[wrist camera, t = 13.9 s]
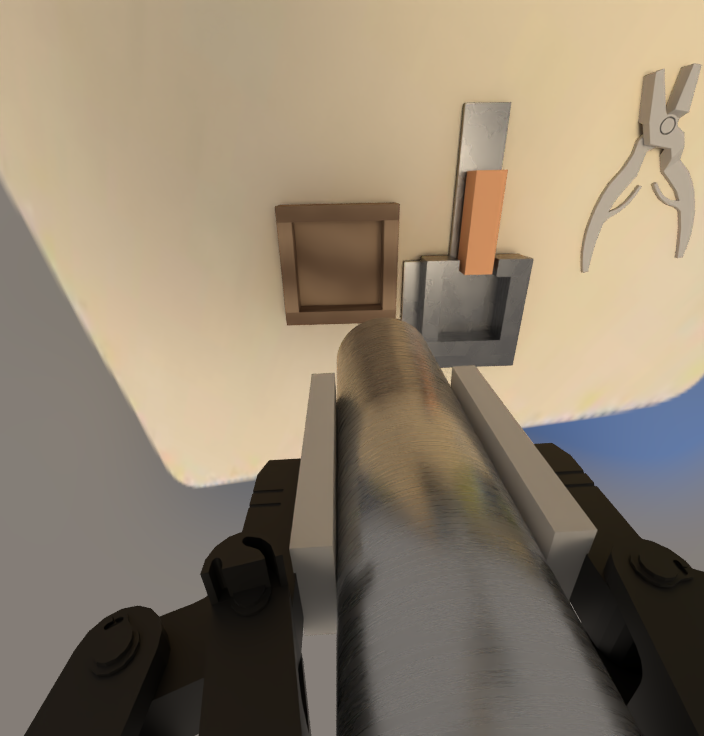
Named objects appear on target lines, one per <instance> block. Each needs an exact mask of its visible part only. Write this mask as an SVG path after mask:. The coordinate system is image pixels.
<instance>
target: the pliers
mask: <svg viewBox="0 0 704 736" xmlns="http://www.w3.org/2000/svg"><path fill="white" fill-rule="evenodd" d="M700 69H701V64H695V63H694V64H691V65H688V66H685V67H682V68H681V70H680V72H679V75H678V77H677V80H676V82H675V85H674V87H673V90H672V92H671V95H670V97H669V100H668V102H667V105H666V100H665V69H661V70H658V71H656V72H653V73H650V74H648V75H646V76H644V78H643V87H642V95H641V103H640V111H639V120H638V123H641V124H643V134H642V135H641V136H640V137H639V138H638V139H637V140H636V142H635V144H634V147H633V150H632V152H631V155H630V156H629V158H628V159H627V161H626V162H625V164H624V165H623V167H622V168H621V170H620V171H619V172H618V173H617V174H616V175H615V176H614V177H613V178H612V180H611V181H610V182H609V183H608V184H607V186H606V187H605V189H604V190H603V192H602V193H601V195H600V197H599V199H598V201H597V202H596V204H595V206H594V208H593V211H592V213H591V216H590V218H589V221H588V224H587V226H586V229H585V233H584V237H583V242H582V248H581V272H583V273H584V272H588V270H589V265H590V261H591V257H592V254H593V250H594V247H595V243H596V240H597V238H598V235H599V233H600V230H601V228H602V225H603V223H604V222H605V221H606V220H607V219H609V218H610V217H612V216H613V215H615V214H617V213H618V212H620V211H621V210H622V209H623V208H625V207H626V206H627V205H628V204H629V203H630V202H631V201H632V199H633V198H634V197H635V196H636V194H637V193H638V191H639V190H640V189H641V187H642V186H640V185H637V186H636V187H635V188H634V190H633V191H632V193H631V194H630V195H629V196H628V198H627V199H626V200H625V201H624V202H623V203H622V204H620V205H619V206H618V207H616V208H615V209H612V210H610V209H611V207H612V205H613V204H614V202H615V201H616V200H617V198H618V197H619V196H620V195H621V193H622V192H623V191H624V190H625V189H626V188H627V186H628V185H629V184H630V183H631V182H632V181H633V180H634V179H635V177H636V176H637V174H638V172H639V169H640V167H641V164H642V162H643V160H644V157H645V155H646V152H647V151H649V150H652V149H654V148H662V149H664V150H663V152H662V153H661V155H660V172H661V173H662V175H663V176H664V177H665V179H666V180H667V182H668V183H669V185H670V186H671V188H672V189H673V191H674V194H675V198H676V201H675V200H670V199H668V198H667V197H665V196H664V195H663V194H662V192H661V191H660V189H659V186H658V184H657V183H652V184H651V186H652V189H653V191H654V193H655V195H656V196H657V198H658V199H659V200H660V201H662V202H663V203H664V204H666V205H669V206H672V207H674V208H675V209H676V210H677V212H678V234H677V245H676V252H675V258H681V257H683V255H684V253H685V250H686V248H687V245H688V242H689V239H690V236H691V232H692V228H693V222H694V215H695V195H694V187H693V182H692V179H691V176H690V173H689V171H688V169H687V168H686V167H685V165H684V164H683V163H682V161H681V160H680V158H681V155H682V152H683V149H684V132H683V131H682V130H681V129H680V128H679V127H678V126H677V125H678V121H679V118H681V117H682V116H684V115H685V114H686V113H688V112H689V110H690V107H691V103H692V99H693V95H694V92H695V88H696V84H697V80H698V77H699V73H700Z"/></svg>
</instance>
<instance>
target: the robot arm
mask: <svg viewBox="0 0 704 736" xmlns="http://www.w3.org/2000/svg"><path fill="white" fill-rule="evenodd" d="M451 388H452V390H453V392H454V394H455V396H456V397H457V399H458V401H459V403H460V405H461V407H462V408H463V410H464V412H465V414H466V416H467V417H468V419H469V421H470V423H471V425H472V426H473V428H474V430H475V432H476V434H477V436H478V437H479V439H480V441H481V443H482V445H483V446H484V448H485V450H486V452H487V454H488V455H489V457H490V459H491V461H492V463H493V465H494V466H495V468H496V470H497V472H498V474H499V475H500V477H501V479H502V481H503V483H504V485H505V486H506V488H507V490H508V492H509V494H510V495H511V497H512V499H513V501H514V503H515V504H516V506H517V508H518V510H519V512H520V514H521V515H522V517H523V519H524V521H525V523H526V524H527V526H528V528H529V530H530V532H531V533H532V535H533V537H534V539H535V541H536V543H537V544H538V546H539V548H540V550H541V552H542V553H543V555H544V557H545V559H546V561H547V562H548V564H549V566H550V568H551V570H552V572H553V573H554V575H555V577H556V579H557V581H558V582H559V584H560V586H561V588H562V590H563V591H564V593H565V595H566V597H567V599H568V601H569V602H571V604H572V606H573V608H574V610H575V611H576V613H577V615H578V617H579V619H580V620H581V624H582V626H583V628H584V630H585V631H586V633H587V635H588V637H589V639H590V640H591V642H592V644H593V646H594V648H595V650H596V651H597V653H598V655H599V657H600V659H601V660H602V662H603V664H604V666H605V668H606V669H607V671H608V673H609V675H610V677H611V679H612V680H613V682H614V684H615V686H616V688H617V689H618V691H619V693H620V695H621V697H622V698H623V700H624V702H625V704H626V706H627V708H628V709H629V711H630V713H631V715H632V717H633V718H634V720H635V722H636V724H637V726H638V727H639V729H640V731H641V733H642V735H643V736H704V572H703V571H699V570H695V569H692V568H691V567H690V565H689V564H688V563H687V562H686V561H685V560H684V559H682V558H681V557H680V556H678V555H677V554H675V553H674V552H672V551H671V550H670V549H668V548H666V547H664V546H661V545H659V544H657V543H655V542H652V541H649V540H645V539H642V538H641V537H640V536H639V535H638V534H637V533H636V532H635V531H634V529H633V528H632V527H631V526H630V525H629V524H628V523H627V521H626V520H625V519H624V518H623V516H622V515H621V514H620V513H619V512H618V511H617V509H616V508H615V507H614V506H613V505H612V504H611V502H610V501H609V500H608V499H607V498H606V497H605V495H604V494H603V493H602V492H601V491H600V489H599V488H598V487H597V486H594V482H593V481H592V480H591V479H590V478H589V476H588V475H587V474H586V473H584V472H583V469H582V468H581V467H580V466H579V465H578V463H577V462H576V461H575V460H574V459H573V458H572V456H571V455H569V454H568V453H566V452H565V451H563V450H562V449H560V448H559V447H557V446H556V445H554V444H553V443H542V444H533V443H532V441H531V440H530V439H529V437H528V436H527V435H526V433H525V432H524V431H523V429H522V428H521V426H520V425H519V424H518V422H517V421H516V420H515V418H514V417H513V416H512V414H511V413H510V412H509V410H508V409H507V408H506V406H505V405H504V404H503V402H502V401H501V400H500V398H499V397H498V396H497V394H496V393H495V392H494V390H493V389H492V388H491V386H490V385H489V384H488V382H487V381H486V379H485V378H484V377H483V375H482V374H481V373H480V371H479V370H478V369H477V367H476V366H475V365H470V366H452V377H451ZM201 577H202V580H203V583H204V585H205V588H206V591H207V594H208V596H207V597H205V598H204V599H201V600H199V601H197V602H195V603H194V604H191V605H188V606H186V607H183V608H180V609H178V610H176V611H173V612H170V613H168V614H165V615H163V616H160V617H159V616H158V615H157V614H156V613H155V612H154V611H153V610H152V609H151V608H147V607H142V606H134V607H129V608H124V609H121V610H119V611H117V612H115V613H113V614H111V615H109V616H108V617H106V618H104V619H103V620H102V621H101V622H99V623H98V624H97V625H96V626H95V627H94V628H92V629H91V630H90V631H89V632H88V633H87V634H86V636H85V637H84V638H83V640H82V641H81V642H80V644H79V645H78V646H77V648H76V649H75V651H74V652H73V654H72V655H71V657H70V659H69V661H68V662H67V664H66V666H65V667H64V669H63V671H62V672H61V674H60V676H59V677H58V679H57V681H56V682H55V684H54V686H53V688H52V689H51V691H50V693H49V694H48V696H47V698H46V700H45V701H44V703H43V704H42V706H41V708H40V710H39V711H38V713H37V715H36V716H35V718H34V720H33V721H32V723H31V725H30V726H29V728H28V730H27V732H26V733H25V735H24V736H195V735H197V734H199V736H311V729H310V721H309V711H308V701H307V692H306V682H305V673H304V664H303V658H302V653H301V648H302V635H303V628H304V634H305V636H308V635H323V634H337V400H336V386H335V373H323V374H312V377H311V385H310V392H309V400H308V408H307V415H306V423H305V431H304V439H303V446H302V454H301V459H284V460H269V461H268V462H267V464H266V465H265V466H264V467H263V469H262V470H261V471H260V472H259V474H258V475H257V479H256V482H255V487H254V490H253V494H252V497H251V501H250V508H249V509H248V512H247V516H246V520H245V523H244V527H243V531H242V532H241V533H238V534H235V535H233V536H230V537H228V538H227V539H225V540H224V541H223V542H221V543H220V544H219V545H217V546H216V547H215V548H214V549H213V550H212V552H211V553H210V554H209V556H208V557H207V558H206V559H205V563H204V565H203V568H202V571H201Z"/></svg>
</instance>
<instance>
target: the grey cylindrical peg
mask: <svg viewBox="0 0 704 736" xmlns="http://www.w3.org/2000/svg"><path fill="white" fill-rule="evenodd" d="M336 687H337V689H336V690H337V691H336V692H337V693H336V696H337V697H336V698H337V699H336V701H337V705H336V707H337V711H336V712H337V713H336V714H337V715H336V718H337V720H336V727H337V728H336V733H337V734H336V735H337V736H643V735H642V733H641V731H640V729H639V727H638V726H637V724H636V722H635V720H634V718H633V717H632V715H631V713H630V711H629V709H628V708H627V706H626V704H625V702H624V700H623V698H622V697H621V695H620V693H619V691H618V689H617V688H616V686H615V684H614V682H613V680H612V679H611V677H610V675H609V673H608V671H607V669H606V668H605V666H604V664H603V662H602V660H601V659H600V657H599V655H598V653H597V651H596V650H595V648H594V646H593V644H592V642H591V640H590V639H589V637H588V635H587V633H586V631H585V630H584V628H583V626H582V624H581V622H580V620H579V619H578V617H577V615H576V614H575V612H574V610H573V608H572V606H571V604H570V602H569V601H568V599H567V597H566V595H565V593H564V591H563V590H562V588H561V586H560V584H559V582H558V581H557V579H556V577H555V575H554V573H553V572H552V570H551V568H550V566H549V564H548V562H547V561H546V559H545V557H544V555H543V553H542V552H541V550H540V548H539V546H538V544H537V543H536V541H535V539H534V537H533V535H532V533H531V532H530V530H529V528H528V526H527V524H526V523H525V521H524V519H523V517H522V515H521V514H520V512H519V510H518V508H517V506H516V504H515V503H514V501H513V499H512V497H511V495H510V494H509V492H508V490H507V488H506V486H505V485H504V483H503V481H502V479H501V477H500V475H499V474H498V472H497V470H496V468H495V466H494V465H493V463H492V461H491V459H490V457H489V455H488V454H487V452H486V450H485V448H484V446H483V445H482V443H481V441H480V439H479V437H478V436H477V434H476V432H475V430H474V428H473V426H472V425H471V423H470V421H469V419H468V417H467V416H466V414H465V412H464V410H463V408H462V407H461V405H460V403H459V401H458V399H457V397H456V396H455V394H454V392H453V390H452V388H451V387H450V385H449V383H448V381H447V379H446V378H445V376H444V374H443V372H442V370H441V368H440V367H439V365H438V363H437V361H436V359H435V358H434V356H433V354H432V352H431V350H430V349H429V347H428V345H427V343H426V341H425V339H424V338H423V336H422V335H421V333H420V332H419V331H418V330H417V329H416V328H414V327H413V326H412V325H410V324H409V323H407V322H405V321H402V320H399V319H395V318H375V319H371V320H368V321H366V322H363V323H361V324H359V325H358V326H356V327H355V328H353V329H352V330H351V331H350V332H349V333H348V334H347V335H346V337H345V338H344V340H343V341H342V343H341V345H340V347H339V350H338V354H337V684H336Z"/></svg>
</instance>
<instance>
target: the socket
mask: <svg viewBox="0 0 704 736" xmlns="http://www.w3.org/2000/svg"><path fill="white" fill-rule="evenodd" d="M510 108H511V102H494V103H465V104H463V112H462V123H461V133H460V143H459V154H458V164H457V174H456V185H455V195H454V206H453V216H452V226H451V237H450V247H449V255H447V256H421V261H404V264H403V287H402V310H401V320H402V321H405V322H407V323H409V324H410V325H412V326H413V327H414V328H416V329H417V330H418V331H419V332H420V333H421V335H422V336H423V338H424V339H425V341H426V343H427V345H428V347H429V349H430V350H431V352H432V354H433V356H434V358H435V359H436V361H437V363H438V365H439V367H440V368H447V367H452V366H470V365H475V366H476V367H477V366H508V365H513V360H514V355H515V350H516V345H517V340H518V335H519V330H520V325H521V320H522V315H523V310H524V304H525V299H526V294H527V289H528V284H529V279H530V274H531V269H532V264H533V259H532V258H528V257H526V256H523V255H520V254H495V258H494V265H493V272H492V274H486V275H464V274H462V273H461V272H460V271H459V263H460V260H458V252H459V242H460V233H461V224H462V214H463V205H464V196H465V186H466V177H467V171H475V170H502V164H503V157H504V150H505V143H506V136H507V129H508V122H509V115H510Z"/></svg>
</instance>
